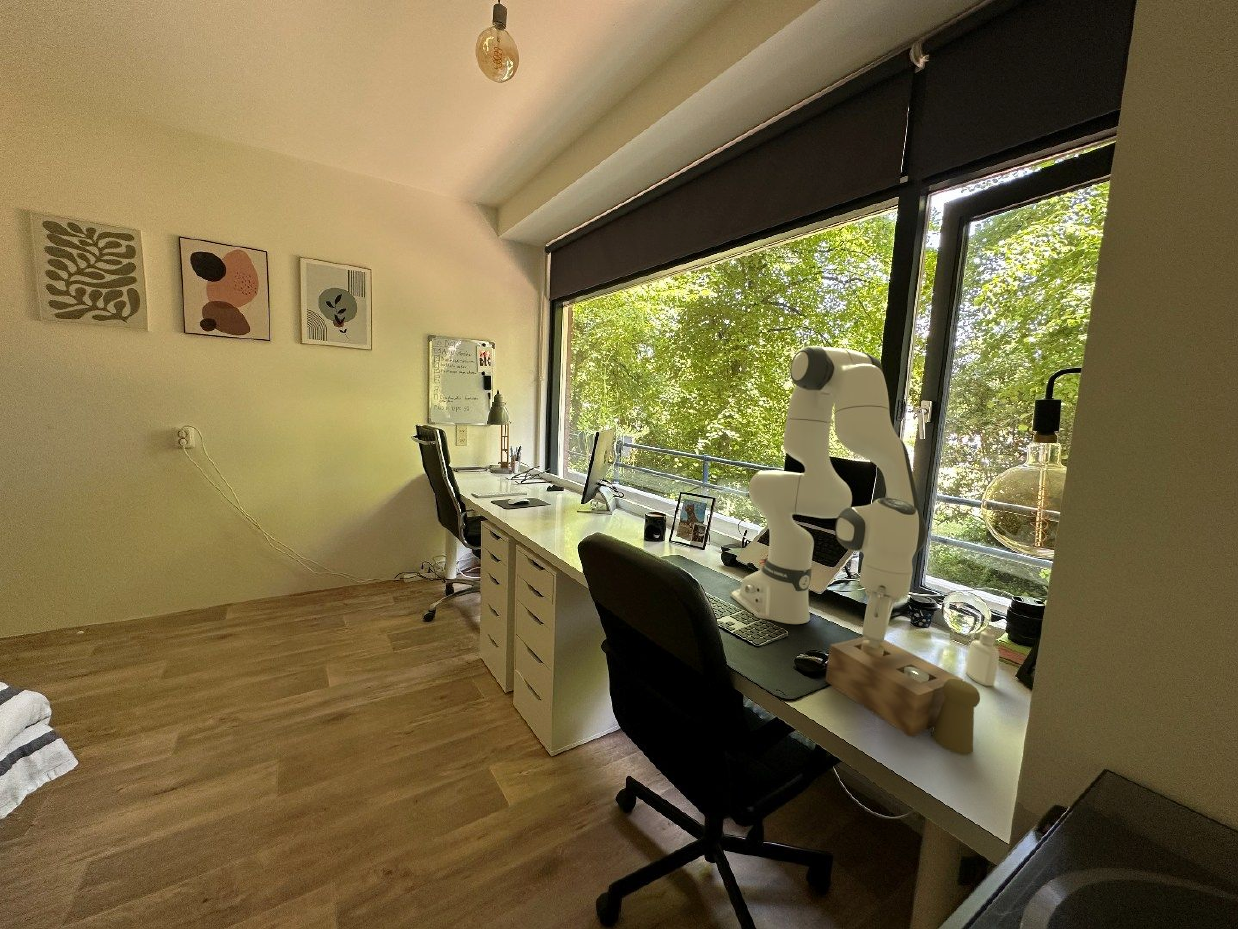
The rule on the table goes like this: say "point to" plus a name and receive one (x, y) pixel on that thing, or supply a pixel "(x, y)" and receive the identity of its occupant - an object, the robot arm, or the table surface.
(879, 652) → the beech peg
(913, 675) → the grey metal peg
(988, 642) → the eye dropper bottle
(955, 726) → the cork
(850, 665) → the socket block
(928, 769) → the table surface
